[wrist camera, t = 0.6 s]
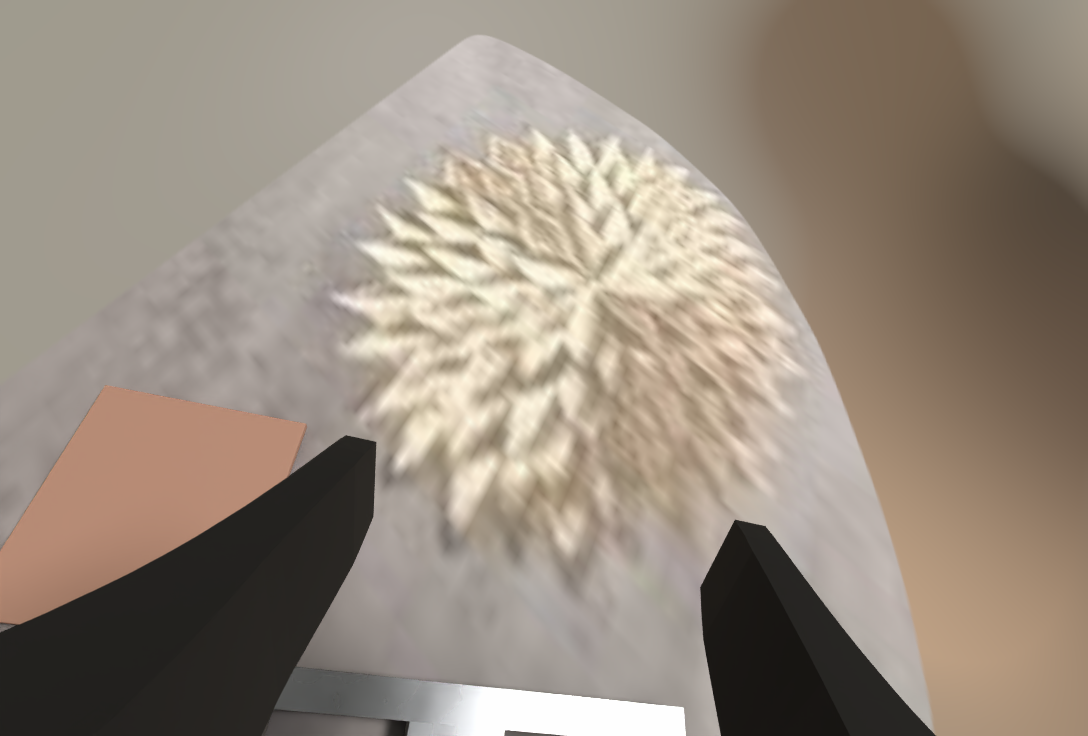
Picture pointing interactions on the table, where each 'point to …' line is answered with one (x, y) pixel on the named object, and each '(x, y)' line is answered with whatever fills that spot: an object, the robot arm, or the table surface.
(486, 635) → the table surface
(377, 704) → the metal rail
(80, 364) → the table surface
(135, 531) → the terracotta mat
